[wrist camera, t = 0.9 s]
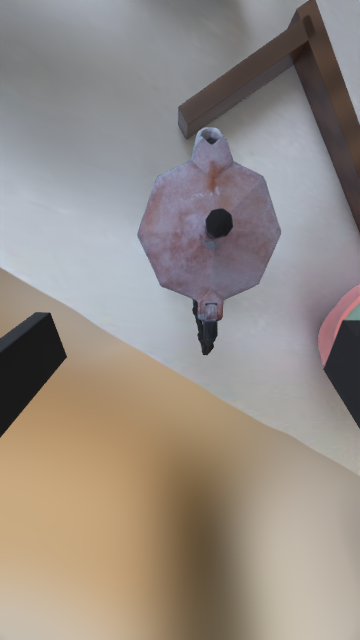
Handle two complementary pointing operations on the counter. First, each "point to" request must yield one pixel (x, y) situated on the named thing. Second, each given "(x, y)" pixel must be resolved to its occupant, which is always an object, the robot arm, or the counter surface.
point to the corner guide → (319, 85)
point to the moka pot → (209, 230)
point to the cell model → (338, 320)
